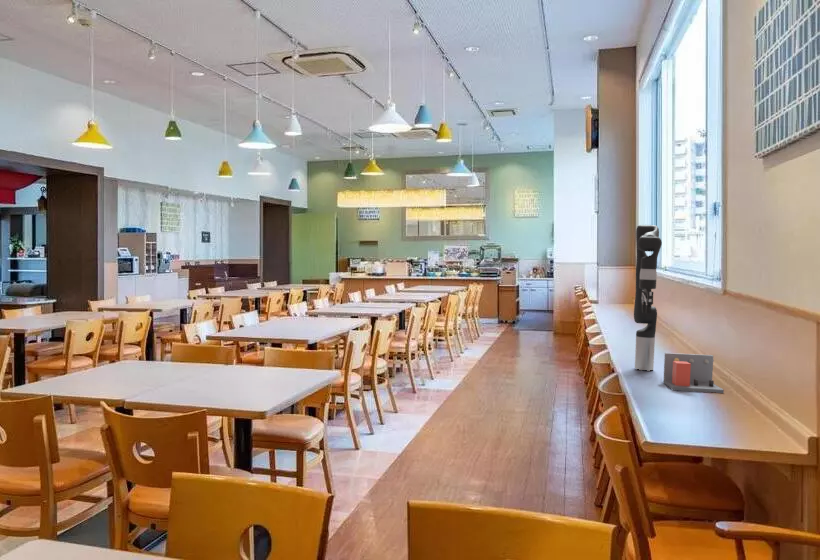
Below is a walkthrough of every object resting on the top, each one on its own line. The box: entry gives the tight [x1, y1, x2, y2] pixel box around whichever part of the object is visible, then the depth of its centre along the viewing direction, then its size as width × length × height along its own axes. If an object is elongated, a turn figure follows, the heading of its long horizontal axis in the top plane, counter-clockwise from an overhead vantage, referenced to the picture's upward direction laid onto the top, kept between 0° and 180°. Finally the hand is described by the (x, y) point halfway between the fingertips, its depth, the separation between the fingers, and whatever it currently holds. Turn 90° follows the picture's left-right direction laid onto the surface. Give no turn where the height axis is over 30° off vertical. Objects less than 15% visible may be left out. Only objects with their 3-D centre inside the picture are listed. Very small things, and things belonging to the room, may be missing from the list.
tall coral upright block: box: [672, 361, 691, 386], centre depth 283 cm, size 6×6×10 cm
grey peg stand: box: [663, 352, 725, 394], centre depth 284 cm, size 17×21×14 cm
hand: (646, 312), depth 299 cm, fingers open, 8 cm apart
